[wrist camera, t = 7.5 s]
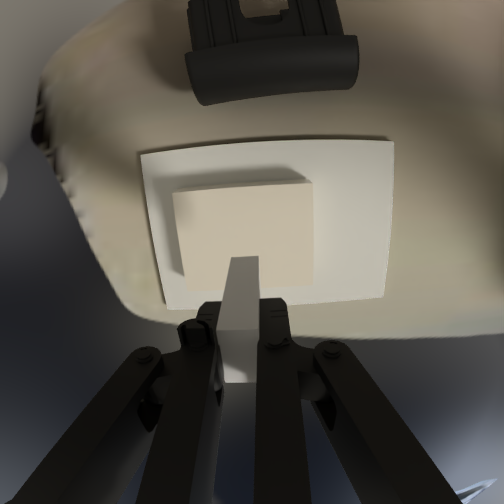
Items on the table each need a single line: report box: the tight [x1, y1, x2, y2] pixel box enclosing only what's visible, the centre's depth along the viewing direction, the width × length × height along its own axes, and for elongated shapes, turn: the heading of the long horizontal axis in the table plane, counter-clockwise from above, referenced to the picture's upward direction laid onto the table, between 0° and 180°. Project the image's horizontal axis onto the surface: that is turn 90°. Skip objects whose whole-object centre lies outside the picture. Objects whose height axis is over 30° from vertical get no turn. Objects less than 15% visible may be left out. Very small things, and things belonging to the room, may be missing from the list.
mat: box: [140, 139, 394, 310], centre depth 25 cm, size 20×14×1 cm
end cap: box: [184, 0, 359, 106], centre depth 17 cm, size 10×7×7 cm
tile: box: [172, 179, 314, 291], centre depth 24 cm, size 2×8×10 cm
